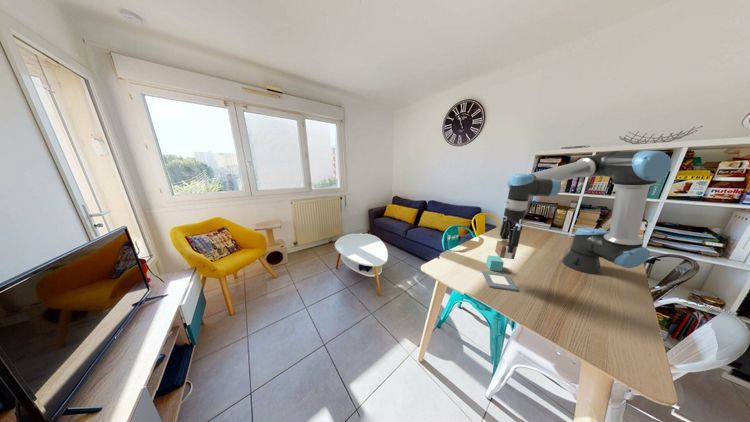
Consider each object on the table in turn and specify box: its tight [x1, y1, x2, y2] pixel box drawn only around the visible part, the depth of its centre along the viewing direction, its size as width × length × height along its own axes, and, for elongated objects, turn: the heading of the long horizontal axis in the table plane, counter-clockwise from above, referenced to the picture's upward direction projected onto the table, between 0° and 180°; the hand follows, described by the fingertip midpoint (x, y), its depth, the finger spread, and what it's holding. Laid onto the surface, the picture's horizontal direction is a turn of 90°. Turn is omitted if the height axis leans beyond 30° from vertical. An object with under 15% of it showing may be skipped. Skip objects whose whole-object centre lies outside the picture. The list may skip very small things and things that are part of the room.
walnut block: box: [494, 240, 518, 260], centre depth 91 cm, size 6×6×6 cm
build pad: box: [481, 270, 519, 292], centre depth 96 cm, size 12×12×1 cm
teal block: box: [485, 254, 504, 273], centre depth 107 cm, size 6×6×6 cm
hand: (504, 254), depth 92 cm, fingers closed on walnut block, 6 cm apart
